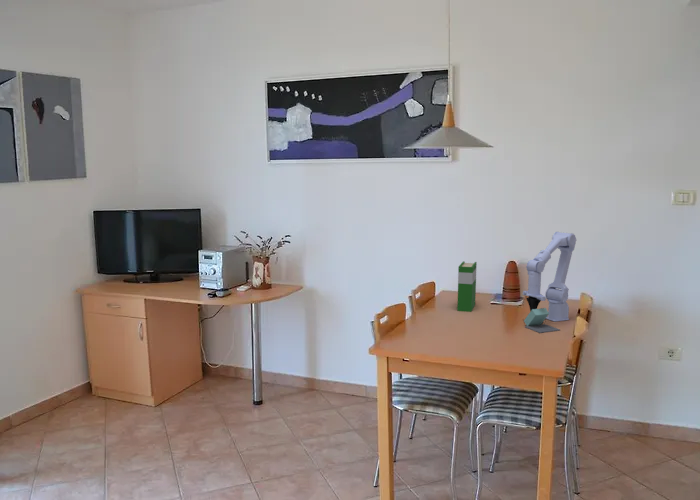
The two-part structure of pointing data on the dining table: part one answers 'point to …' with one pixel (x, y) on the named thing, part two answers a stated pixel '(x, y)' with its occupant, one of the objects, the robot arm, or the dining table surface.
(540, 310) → the slab
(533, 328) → the mat
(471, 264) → the hardback book
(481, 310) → the dining table surface
